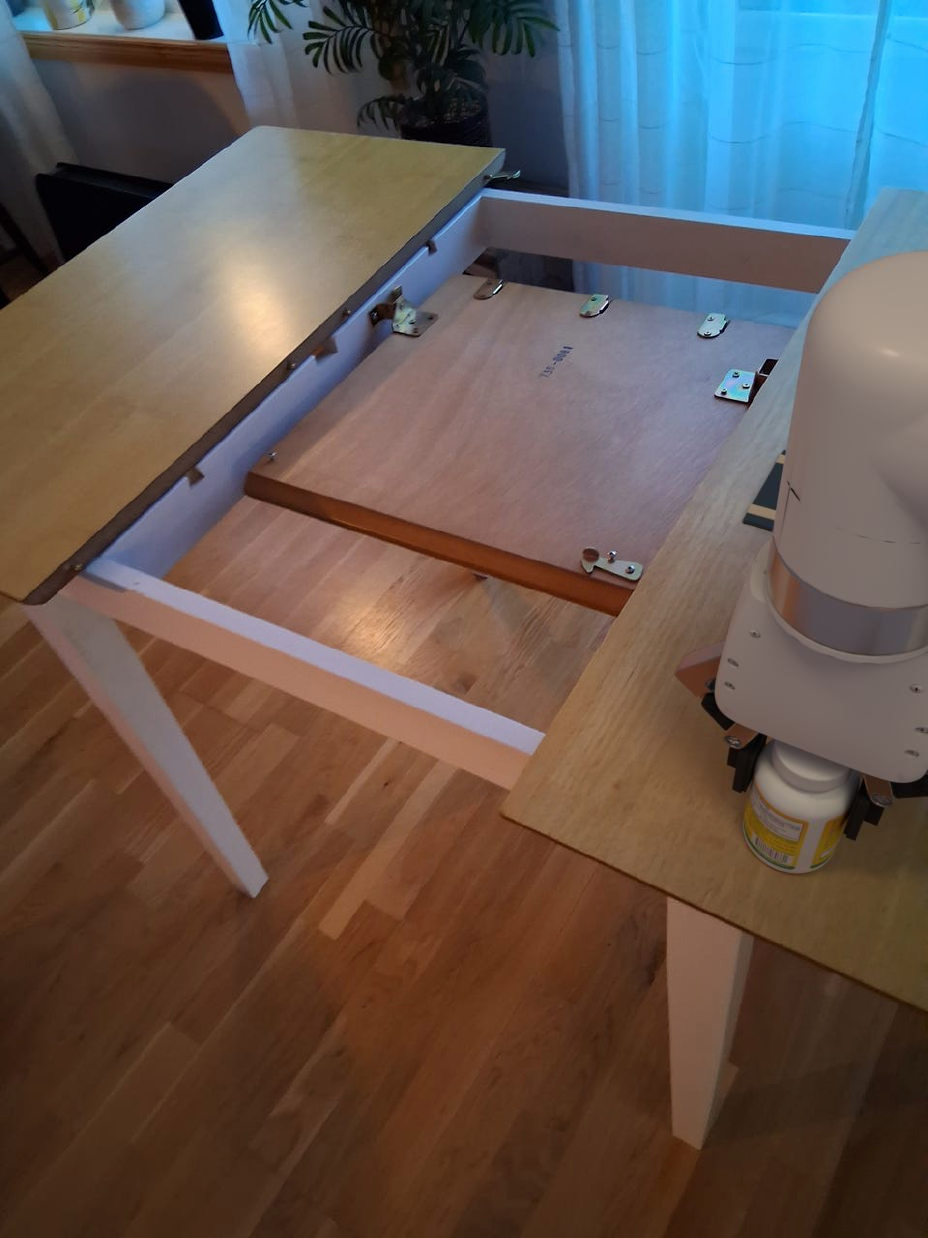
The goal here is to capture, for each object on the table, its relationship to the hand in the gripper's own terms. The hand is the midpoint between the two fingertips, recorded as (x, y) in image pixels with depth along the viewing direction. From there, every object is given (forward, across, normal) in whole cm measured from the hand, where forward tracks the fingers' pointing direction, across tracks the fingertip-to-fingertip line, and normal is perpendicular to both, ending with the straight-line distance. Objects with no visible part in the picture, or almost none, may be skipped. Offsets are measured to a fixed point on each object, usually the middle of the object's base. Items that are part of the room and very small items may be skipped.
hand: (801, 792), depth 51 cm
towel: (+5, +9, -28) cm, 30 cm away
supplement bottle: (+5, 0, 0) cm, 5 cm away
